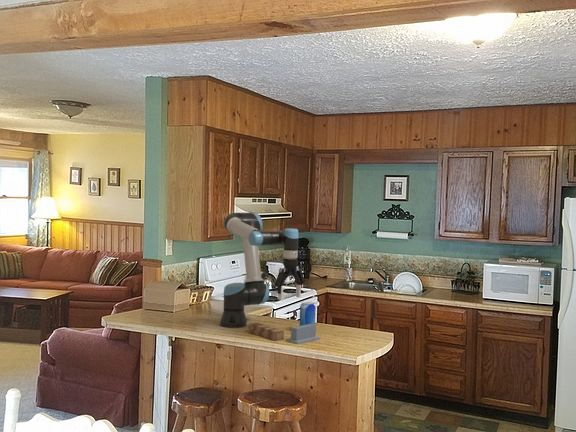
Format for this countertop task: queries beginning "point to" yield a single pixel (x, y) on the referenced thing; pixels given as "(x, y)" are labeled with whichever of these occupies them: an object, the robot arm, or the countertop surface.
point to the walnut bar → (266, 331)
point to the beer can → (307, 313)
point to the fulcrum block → (303, 334)
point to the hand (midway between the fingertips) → (289, 298)
